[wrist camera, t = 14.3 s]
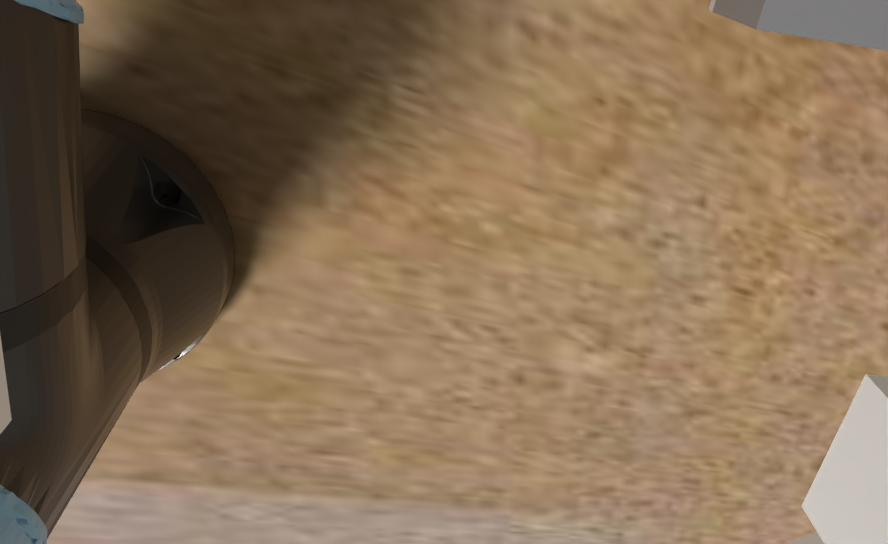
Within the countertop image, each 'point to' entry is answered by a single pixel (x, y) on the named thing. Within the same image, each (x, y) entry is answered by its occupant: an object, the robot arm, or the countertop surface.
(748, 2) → the well
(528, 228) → the countertop surface
